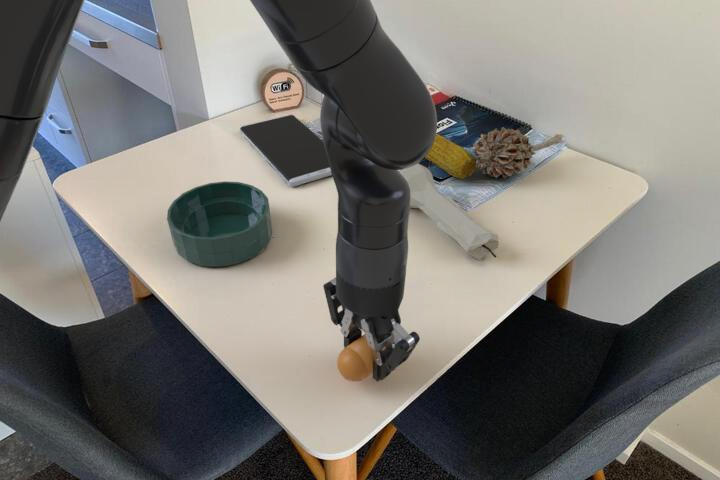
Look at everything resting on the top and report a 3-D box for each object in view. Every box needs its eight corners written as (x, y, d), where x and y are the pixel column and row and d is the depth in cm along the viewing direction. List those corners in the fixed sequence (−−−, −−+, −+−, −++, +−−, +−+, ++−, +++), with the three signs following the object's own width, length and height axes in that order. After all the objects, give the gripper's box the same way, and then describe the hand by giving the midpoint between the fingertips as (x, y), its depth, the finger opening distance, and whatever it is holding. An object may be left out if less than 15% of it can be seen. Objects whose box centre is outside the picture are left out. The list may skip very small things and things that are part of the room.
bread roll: (353, 395, 62) (354, 372, 60) (329, 373, 65) (329, 350, 62) (401, 358, 67) (404, 335, 64) (377, 338, 70) (379, 315, 67)
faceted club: (419, 182, 100) (515, 257, 85) (384, 205, 98) (476, 286, 83) (414, 146, 94) (518, 222, 79) (376, 170, 92) (475, 252, 76)
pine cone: (489, 196, 99) (498, 149, 93) (456, 173, 105) (463, 128, 99) (570, 166, 108) (583, 122, 101) (536, 146, 114) (546, 103, 108)
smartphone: (292, 119, 123) (292, 112, 122) (351, 171, 105) (351, 163, 104) (239, 132, 117) (238, 125, 116) (291, 189, 100) (290, 181, 98)
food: (477, 178, 103) (482, 152, 100) (456, 187, 101) (459, 160, 97) (413, 136, 117) (415, 111, 113) (392, 142, 115) (394, 117, 111)
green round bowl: (173, 275, 80) (164, 245, 77) (176, 215, 93) (169, 187, 89) (277, 261, 83) (273, 231, 80) (267, 204, 96) (264, 176, 92)
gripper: (301, 245, 57) (307, 347, 68) (395, 316, 49) (386, 419, 60) (351, 218, 61) (350, 318, 72) (446, 279, 53) (429, 382, 64)
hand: (366, 364), depth 66 cm, fingers closed on bread roll, 4 cm apart
